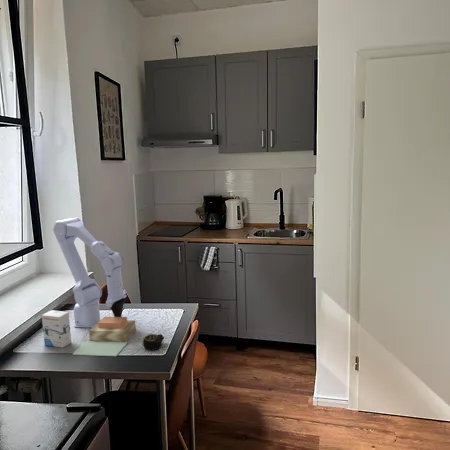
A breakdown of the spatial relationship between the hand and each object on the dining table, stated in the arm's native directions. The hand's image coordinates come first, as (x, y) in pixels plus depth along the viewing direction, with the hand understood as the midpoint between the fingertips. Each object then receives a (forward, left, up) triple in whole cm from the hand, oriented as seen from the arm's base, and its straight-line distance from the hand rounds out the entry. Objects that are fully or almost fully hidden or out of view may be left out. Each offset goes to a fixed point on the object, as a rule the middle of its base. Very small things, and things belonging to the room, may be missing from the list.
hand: (118, 318), depth 162 cm
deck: (0, -5, -5) cm, 7 cm away
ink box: (-18, -13, -5) cm, 23 cm away
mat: (0, -16, -5) cm, 17 cm away
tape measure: (+19, -13, -5) cm, 24 cm away
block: (0, -5, -1) cm, 5 cm away
